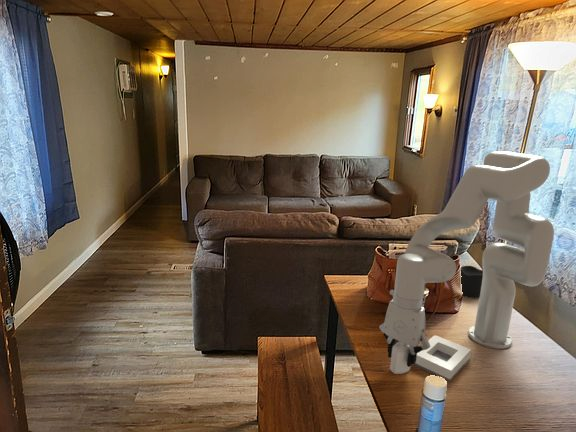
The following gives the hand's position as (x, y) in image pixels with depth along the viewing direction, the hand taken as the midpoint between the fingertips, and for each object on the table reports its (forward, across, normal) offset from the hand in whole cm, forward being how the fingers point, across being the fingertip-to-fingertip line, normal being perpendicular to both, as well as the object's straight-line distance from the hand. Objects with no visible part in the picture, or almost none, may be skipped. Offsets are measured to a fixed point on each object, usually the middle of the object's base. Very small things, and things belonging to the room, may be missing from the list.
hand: (401, 359), depth 115 cm
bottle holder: (+3, +6, +12) cm, 14 cm away
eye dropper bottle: (+4, 0, 0) cm, 4 cm away
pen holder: (+4, -5, +65) cm, 65 cm away
